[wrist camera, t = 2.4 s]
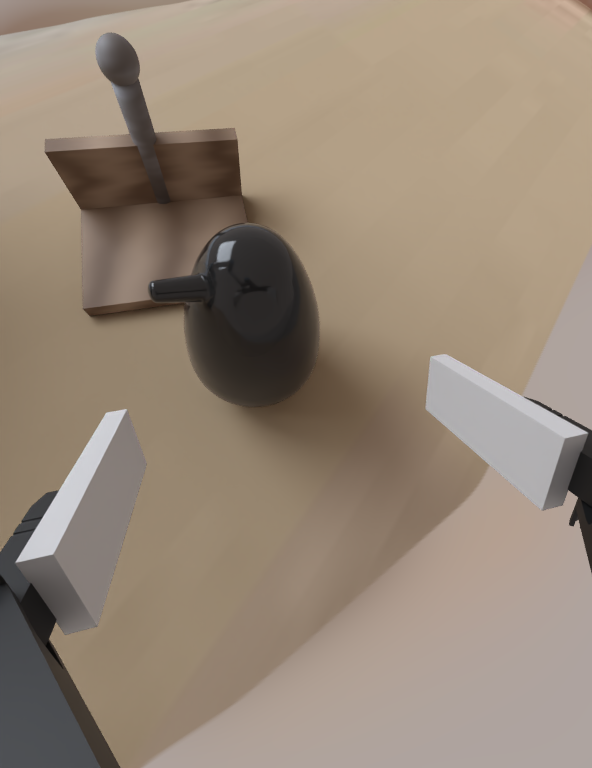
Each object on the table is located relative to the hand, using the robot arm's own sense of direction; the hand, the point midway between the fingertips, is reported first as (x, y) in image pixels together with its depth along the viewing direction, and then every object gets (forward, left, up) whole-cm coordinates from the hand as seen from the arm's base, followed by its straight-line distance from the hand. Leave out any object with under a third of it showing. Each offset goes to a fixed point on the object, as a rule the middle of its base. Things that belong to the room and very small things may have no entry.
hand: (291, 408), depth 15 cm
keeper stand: (-7, +22, -14) cm, 27 cm away
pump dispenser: (-1, +8, -14) cm, 17 cm away
